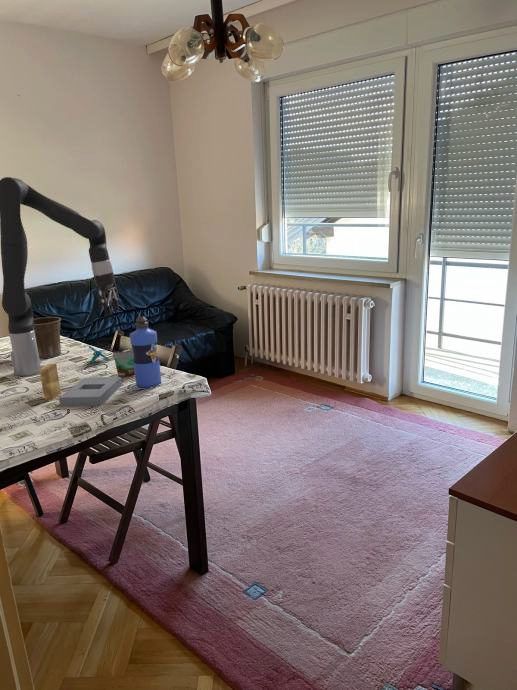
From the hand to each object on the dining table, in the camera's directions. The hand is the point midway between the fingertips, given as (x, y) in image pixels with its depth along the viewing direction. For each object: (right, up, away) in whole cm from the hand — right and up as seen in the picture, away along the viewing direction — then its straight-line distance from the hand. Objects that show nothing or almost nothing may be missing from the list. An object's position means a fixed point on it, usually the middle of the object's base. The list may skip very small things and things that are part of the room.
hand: (112, 312), depth 208 cm
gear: (-9, -20, +14) cm, 26 cm away
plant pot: (-37, -18, +28) cm, 50 cm away
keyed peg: (-14, -31, -26) cm, 42 cm away
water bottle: (+18, -27, -19) cm, 38 cm away
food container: (+10, -24, -6) cm, 27 cm away
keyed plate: (+1, -30, -26) cm, 40 cm away
